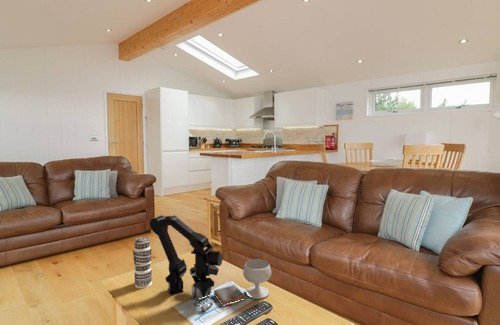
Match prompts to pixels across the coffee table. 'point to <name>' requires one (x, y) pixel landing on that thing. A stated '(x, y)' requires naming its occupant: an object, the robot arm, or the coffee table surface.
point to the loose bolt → (206, 306)
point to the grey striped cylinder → (142, 262)
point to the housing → (198, 291)
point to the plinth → (229, 294)
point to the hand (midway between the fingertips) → (201, 293)
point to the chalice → (257, 277)
